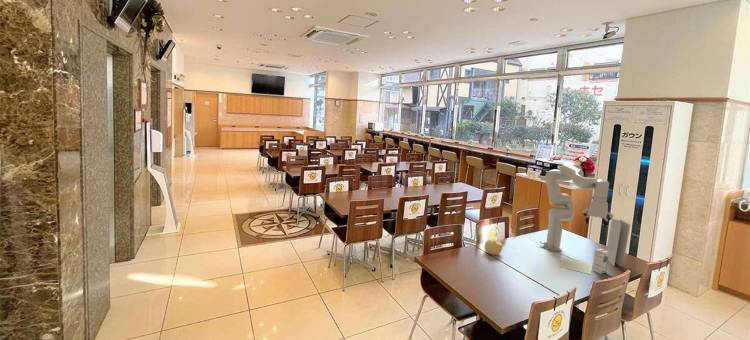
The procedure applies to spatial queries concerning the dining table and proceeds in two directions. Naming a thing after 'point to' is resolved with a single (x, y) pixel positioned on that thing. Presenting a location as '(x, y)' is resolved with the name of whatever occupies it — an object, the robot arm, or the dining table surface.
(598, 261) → the syrup box
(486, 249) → the sculpture
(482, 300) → the dining table surface
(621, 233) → the upright grey panel
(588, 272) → the mat
